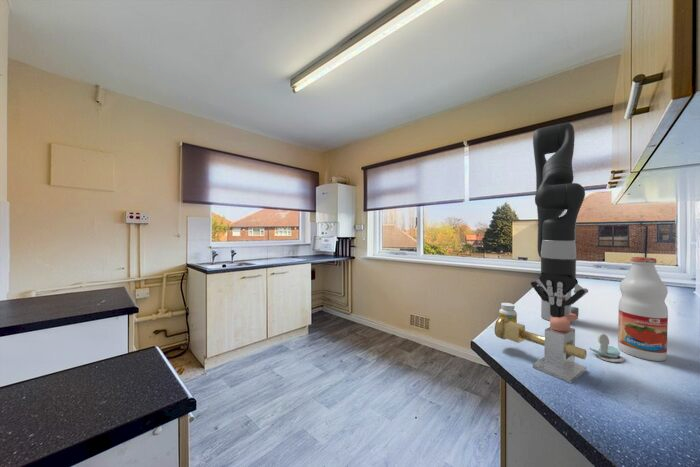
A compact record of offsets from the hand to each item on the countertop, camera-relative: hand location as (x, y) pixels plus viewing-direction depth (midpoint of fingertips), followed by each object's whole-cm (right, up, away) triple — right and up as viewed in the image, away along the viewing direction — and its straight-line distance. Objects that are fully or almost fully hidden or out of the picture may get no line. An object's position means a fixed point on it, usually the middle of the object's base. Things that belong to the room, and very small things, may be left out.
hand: (557, 318), depth 71 cm
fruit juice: (+27, -12, +3) cm, 30 cm away
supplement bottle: (-2, -11, +20) cm, 23 cm away
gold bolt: (-6, -9, 0) cm, 11 cm away
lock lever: (0, -1, -3) cm, 3 cm away
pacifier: (+15, -12, +1) cm, 19 cm away
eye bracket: (-3, -12, -5) cm, 13 cm away
